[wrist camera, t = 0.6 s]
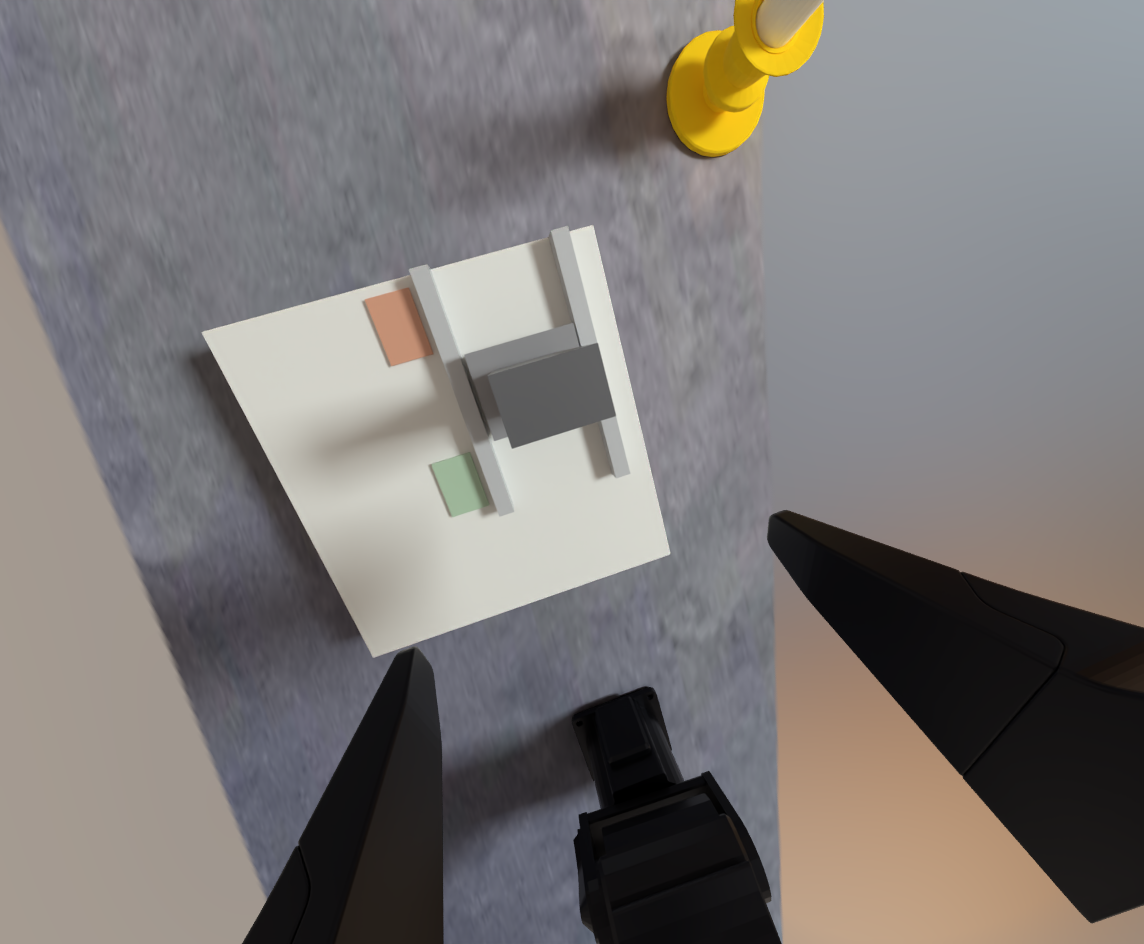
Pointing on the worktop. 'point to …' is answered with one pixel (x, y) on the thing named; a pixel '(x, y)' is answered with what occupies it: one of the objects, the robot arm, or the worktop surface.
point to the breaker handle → (540, 385)
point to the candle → (738, 71)
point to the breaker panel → (445, 441)
